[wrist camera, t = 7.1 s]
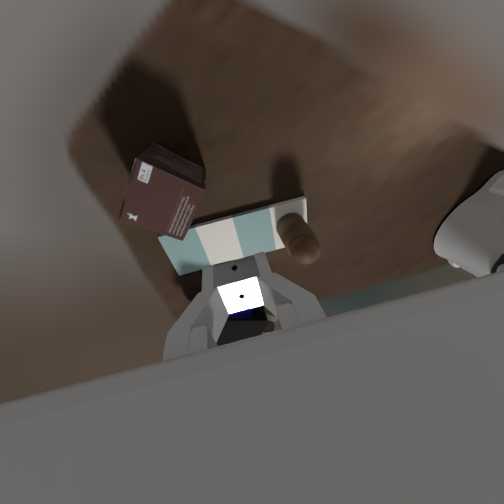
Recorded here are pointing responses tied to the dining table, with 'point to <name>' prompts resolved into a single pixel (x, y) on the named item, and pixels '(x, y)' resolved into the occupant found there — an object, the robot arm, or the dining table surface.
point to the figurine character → (246, 325)
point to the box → (163, 192)
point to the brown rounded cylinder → (298, 238)
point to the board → (230, 237)
